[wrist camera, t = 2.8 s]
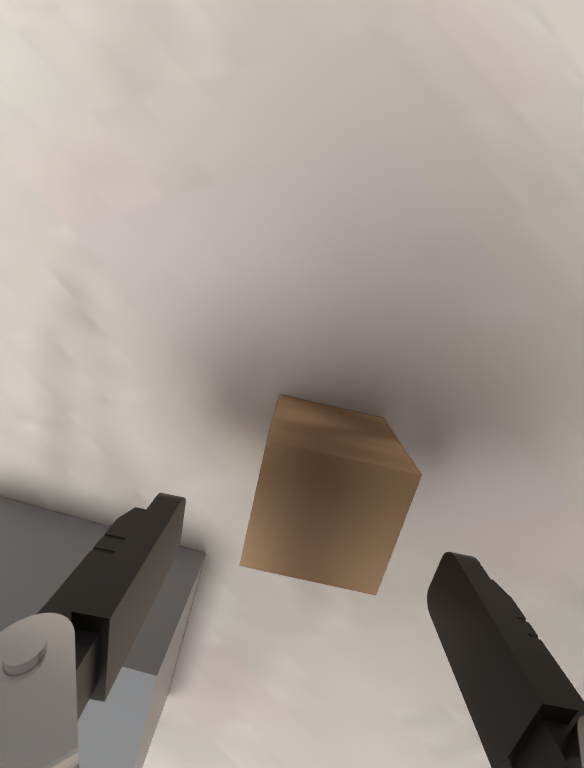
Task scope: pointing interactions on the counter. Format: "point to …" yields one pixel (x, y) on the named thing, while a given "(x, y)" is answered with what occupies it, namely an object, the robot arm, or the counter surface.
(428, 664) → the counter surface
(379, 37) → the counter surface
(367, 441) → the walnut cube
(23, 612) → the gray square block
